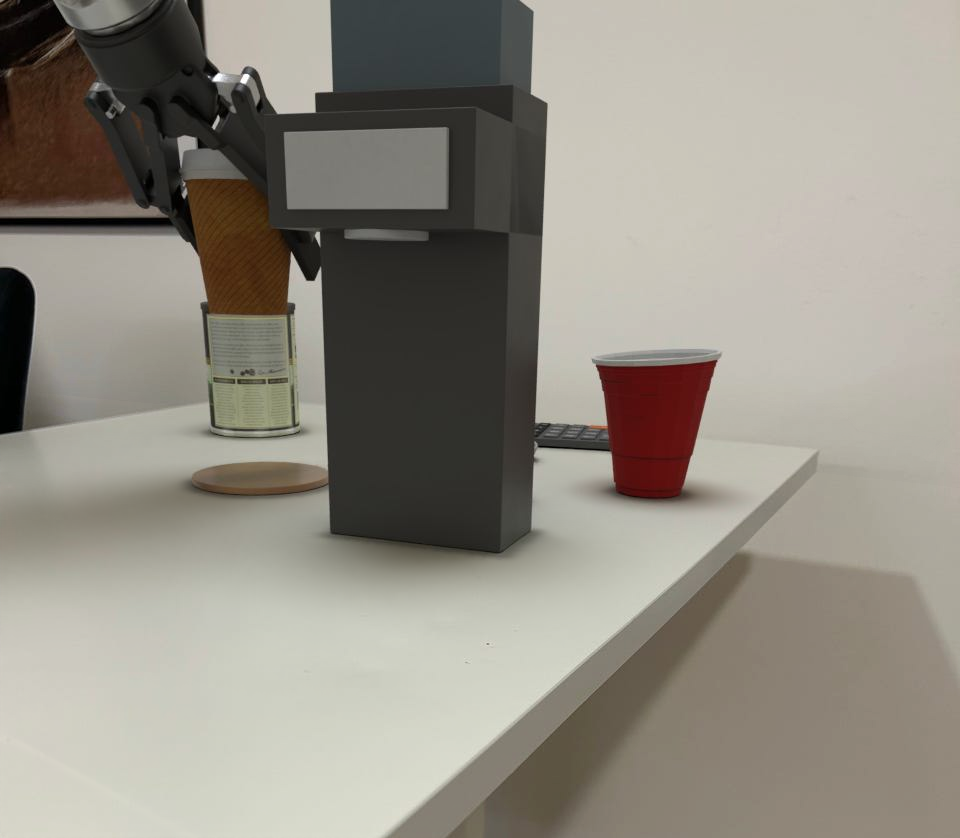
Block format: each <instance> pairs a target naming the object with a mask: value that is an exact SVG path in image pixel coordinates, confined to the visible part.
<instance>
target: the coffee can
mask: <svg viewBox="0 0 960 838" xmlns="http://www.w3.org/2000/svg"><path fill="white" fill-rule="evenodd" d="M199 306H200V310H201V317H202V329H203V342H204V343H203V344H204V352H205V353H204V354H205V365H206V366H205V367H206V381H207V391H208V405H209V418H210V432H211V433H212V434H215V435H218V436H224V437H233V438H268V437H281V436H287V435H292V434H296V433H299V432H300V431H301V426H300V424H301V423H300V403H299V402H300V401H299V383H298V382H299V381H298V364H297V363H298V362H297V340H296V339H297V338H296V323H295V322H296V319H295V311H296V303H295V302H290V301H288V302H287V314H286V315H283V316H228V315H215V314H211V313H209V307H208V301H202V302H200V303H199Z"/></svg>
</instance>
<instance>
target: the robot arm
mask: <svg viewBox="0 0 960 838" xmlns="http://www.w3.org/2000/svg"><path fill="white" fill-rule="evenodd" d="M52 1H53V3H54V4H55V6H56V8H57V9H58V10H59V12H60V13H61V15H62V18H63V19H64V20H65V22H66V24H68V25H69V26H70V27H72V28H73V34H74V38H75V40H76V41H77V43H78V45H79V46H80V48H81V49H82V51H83V52H84V55H85V56H86V57H87V59H88V61H89V62H90V64H91V66H92V67H93V69H94V71H95V73H96V74H97V77H96V78H95V80H94V82H93V83H92V85H91V87H90V88H89V90H88V91H87V93H86V95H85V96H84V98H83V104H84V106H85V108H86V109H87V110H88V111H89V113H90V114H91V116H92V117H93V118H94V119H95V121H96V122H97V123H98V125H99V126H100V127H101V130H102V131H103V134H104V136H105V138H106V140H107V142H108V144H109V147H110V149H111V151H112V153H113V155H114V158H115V160H116V163H117V164H118V166H119V169H120V171H121V173H122V176H123V177H124V180H125V182H126V184H127V187H128V188H129V191H130V194H131V195H132V198H133V200H134V202H135V203H136V205H137V206H138V207H140V208H141V209H144V210H148V209H150V207H153V208H154V207H155V208H158V210H159V212H160V213H161V214H163V215H165V216H167V217H168V219H169V220H170V222H171V223H172V225H173V226H174V228H175V230H176V231H177V232H178V234H179V236H180V237H181V239H182V240H183V241H185V243H190V245H191V246H192V249H193V250H194V251H195V253H196V254H197V256H198V257H199V254H198V248H197V243H196V238H195V232H194V226H193V222H192V216H191V210H190V206H189V200H188V195H187V194H185V197H184V196H183V194H184V192H185V190H186V184H185V182H183V180H182V174H181V173H179V170H178V169H180V168H181V167H182V164H181V158H180V149H179V141H178V140H179V138H181V137H183V136H185V137H189V138H195V139H197V138H198V139H199V140H200V141H201V142H202V143H203V144H205V146H206V147H207V148H208V149H211V150H219V151H220V152H221V153H222V154H223V155H224V156H225V157H226V158H227V159H228V160H229V161H230V162H231V163H232V164H233V165H234V166H235V167H236V168H237V169H238V170H239V171H240V172H241V173H242V174H243V175H244V176H245V177H246V178H247V179H248V180H249V181H250V182H251V183H252V184H253V185H254V186H255V187H256V188H257V189H258V190H259V191H260V192H261V193H262V194H263V195H264V196H265V197H266V198H267V199H268V182H267V163H266V143H265V124H264V115H265V114H278V113H277V111H276V109H275V108H274V106H273V104H272V103H271V101H270V100H269V99H268V97H267V95H266V92H265V88H264V85H263V81H262V78H261V76H260V73H259V72H258V70H257V69H256V68H254V67H252V66H249V65H248V66H245V67H243V69H242V71H241V73H240V74H234V73H226V72H225V73H224V72H221V71H220V70H219V68H218V67H217V66H216V65H215V64H214V63H213V62H212V61H211V60H210V58H209V57H208V56H207V55H206V54H205V51H204V49H203V43H202V39H201V34H200V30H199V27H198V24H197V22H196V21H195V18H194V16H193V15H192V12H191V10H190V8H189V6H188V5H187V2H186V0H52ZM134 115H136V116H137V117H138V120H139V121H140V125H141V131H142V134H141V132H140V129H139V126H138V125H137V122H136V120H135V118H134ZM218 117H219V119H218V122H217V124H216V125H215V123H216V121H217V118H218ZM214 125H215V127H214V128H213V126H214ZM147 148H148V149H147ZM280 231H281V233H282V234H283V236H284V238H285V240H286V242H287V244H288V246H289V248H290V250H291V255H292V256H293V258H294V259H295V262H296V264H297V265H298V268H299V269H300V272H301V273H302V276H303V277H304V279H305V281H306V282H315V281H316V279H317V276H318V275H319V271H320V270H321V254H320V243H319V242H318V239H317V238H316V234H317V232H313V231H302V230H290V229H280Z"/></svg>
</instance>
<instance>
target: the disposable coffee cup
mask: <svg viewBox="0 0 960 838" xmlns="http://www.w3.org/2000/svg"><path fill="white" fill-rule="evenodd" d="M178 170H179V173H181V174H182V181H183V183H184V185H185V184H186V188H185V190H186V195H188V200H189V206H190V210H191V216H192V222H193V226H194V232H195V238H196V243H197V248H198V254H199V256H198V258H199V259H198V260H199V264H200V270H201V274H202V280H203V285H204V290H205V294H206V296H205V297H206V302H208V307H209V313H211V314H215V315H228V316H283V315H286V314H287V302H289V301H288V300H289V286H290V274H291V273H290V272H291V263H292V252H291V250H290V248H289V246H288V244H287V242H286V240H285V238H284V236H283V234H282V233H281V231H280V229H279V228H271V227H270V221H269V202H268V199H267V198H266V197H265V196H264V195H263V194H262V193H261V192H260V191H259V190H258V189H257V188H256V187H255V186H254V185H253V184H252V183H251V182H250V181H249V180H248V179H247V178H246V177H245V176H244V175H243V174H242V173H241V172H240V171H239V170H238V169H237V168H236V167H235V166H234V165H233V164H232V163H231V162H230V161H229V160H228V159H227V158H226V157H225V156H224V155H223V154H222V153H221V152H220V151H219V150H211V149H210V148H193V149H186V150H184V151H183V152H182V160H181V168H180V169H178ZM198 254H197V255H198Z"/></svg>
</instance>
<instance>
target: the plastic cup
mask: <svg viewBox="0 0 960 838" xmlns="http://www.w3.org/2000/svg"><path fill="white" fill-rule="evenodd" d="M722 354H723V350H720V349H719V350H718V349H712V348H711V349H710V348H709V349H708V348H667V349H648V350H647V349H646V350H634V351H633V350H632V351H623V352H621V351H620V352H613V353H612V352H611V353H604V354H600V355H595V356H592V357H591V358H590V359H591V362H592V364H594V365H595V368H596V371H597V372H598V379H599V380H600V383H601V391H602V392H603V397H604V398H603V399H604V408H605V417H606V426H607V427H608V436H609V445H610V449H609V451H610V453H611V462H612V463H611V464H612V475H613V476H612V477H613V482H614V483H615V486H614V487H615V490H616V491H617V492H618V493H619V494H623V495H626V496H632V497H639V498H652V499H654V498H656V499H657V498H659V499H660V498H670V497H671V498H672V497H675V496H679V495H681V493H682V489H683V487H684V486H685V482H686V478H687V474H688V470H689V466H690V462H691V458H692V456H693V455H694V450H695V446H696V443H697V438H698V434H699V431H700V427H701V422H702V418H703V413H704V409H705V405H706V401H707V396H708V394H709V391H710V389H711V384H712V379H713V377H714V373H715V369H716V368H717V363H718V362H719V360H720V359H721V358H722Z"/></svg>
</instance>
